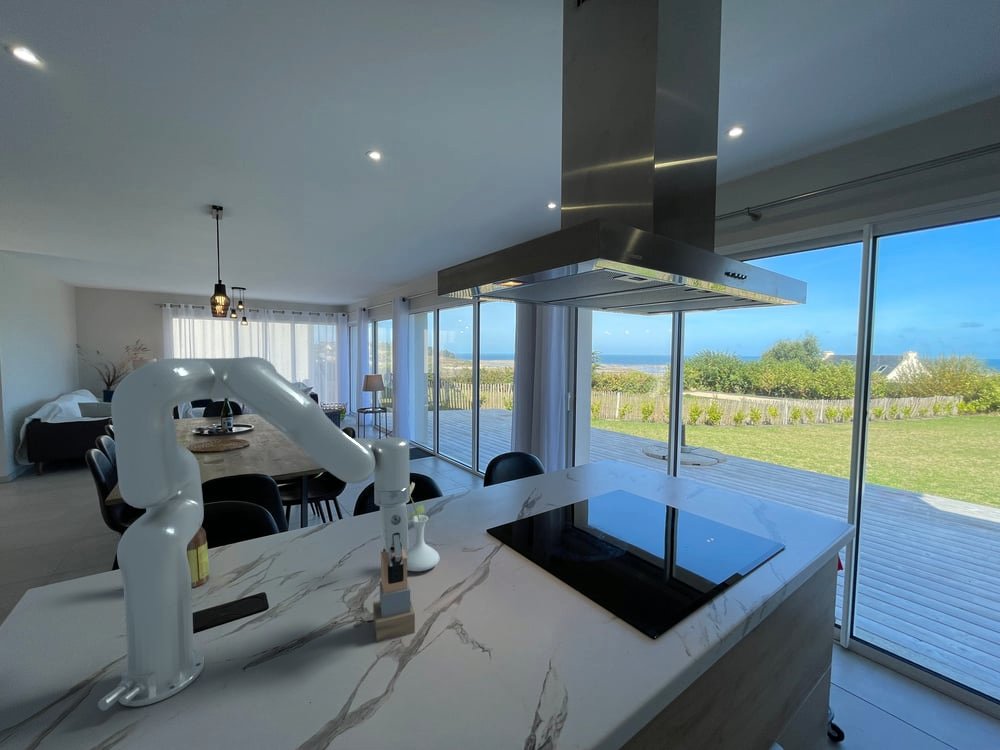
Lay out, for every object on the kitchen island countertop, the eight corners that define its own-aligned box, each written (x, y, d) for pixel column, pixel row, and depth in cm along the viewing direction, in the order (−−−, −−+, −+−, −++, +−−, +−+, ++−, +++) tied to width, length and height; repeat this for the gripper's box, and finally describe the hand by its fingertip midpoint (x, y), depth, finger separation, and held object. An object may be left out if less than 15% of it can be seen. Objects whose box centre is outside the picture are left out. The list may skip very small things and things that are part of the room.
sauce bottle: (205, 574, 114) (203, 503, 113) (212, 582, 110) (210, 508, 109) (175, 584, 109) (173, 510, 108) (182, 593, 105) (179, 516, 104)
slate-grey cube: (410, 612, 91) (410, 589, 90) (382, 618, 88) (381, 595, 88) (406, 597, 96) (406, 576, 96) (379, 602, 94) (379, 581, 94)
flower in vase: (418, 552, 127) (417, 472, 126) (447, 561, 121) (447, 477, 120) (386, 571, 116) (385, 483, 115) (417, 582, 110) (416, 490, 109)
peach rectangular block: (407, 588, 91) (407, 557, 90) (383, 593, 89) (383, 561, 89) (403, 577, 95) (403, 547, 95) (381, 581, 93) (380, 551, 93)
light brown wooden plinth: (414, 633, 90) (414, 613, 90) (376, 643, 87) (376, 622, 87) (408, 612, 98) (408, 594, 97) (373, 620, 95) (373, 601, 94)
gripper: (417, 505, 84) (417, 590, 85) (402, 481, 100) (403, 553, 101) (379, 510, 81) (380, 598, 82) (370, 485, 97) (371, 558, 98)
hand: (393, 572), depth 92 cm, fingers open, 7 cm apart
